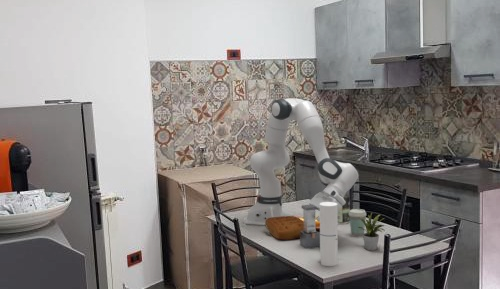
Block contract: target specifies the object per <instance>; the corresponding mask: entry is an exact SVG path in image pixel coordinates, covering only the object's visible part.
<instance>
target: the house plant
mask: <svg viewBox="0 0 500 289" xmlns="http://www.w3.org/2000/svg"><path fill="white" fill-rule="evenodd" d="M372 215H373V212H371V213H370V215H369V214H368V215H367V216H368V219H367V218H366V219H365V220H364V219H362V218H361V217H360V218H361V219H362V220H361V221H362V222H363V223H364V225H365V228H363V227H358V228H362V229H363V230H364V234H363V236H362V237H363V244H364V249H365V250H368V251H376V250H378V245H379V238H380V234H378V233H377V232H381V233H383V232H382V231H384V232H386V231H385V229H384V228H382V227H385V225H384V224H380V222H381V221H382V219H380V220H379V217H380V216H381V214H378V215H376V216H375V217H374V218H373V219H372ZM364 217H365V216H364ZM357 218H358V217H357ZM360 218H359V219H360ZM385 219H386V218H383V220H385ZM378 220H379V221H378ZM378 223H379V224H378Z"/></svg>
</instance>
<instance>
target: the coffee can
mask: <svg viewBox="0 0 500 289" xmlns="http://www.w3.org/2000/svg"><path fill="white" fill-rule="evenodd" d="M350 197H351V195H349V194H347V193H346V194H345V196H344V197H343V198H344V200H345V201H346V203H345V204H344V205H342V207H341V209H340V210H339V211H338V212H337V218H338V225H345V224H346V225H347V224H350V218H349V211H350V210H351V203H350V202H351V198H350Z"/></svg>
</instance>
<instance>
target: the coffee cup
mask: <svg viewBox="0 0 500 289" xmlns="http://www.w3.org/2000/svg"><path fill="white" fill-rule="evenodd" d="M364 216H365V217H364ZM366 216H367V212H366V210H365V209H361V208H353V209H350V211H349V218H350V222H349V227H350V234H351V236H353V237H360V238H361V237H363V234H364V233H365V230H363V229H362V228H358V227H363V228H364V229H366V227H365V225H364V223H363V222H362V221H361V220H362V219H364V220H365V221H366V219H367V217H366ZM357 217H358V218H357ZM360 217H361V218H362V219H361V218H360ZM359 218H360V219H359Z"/></svg>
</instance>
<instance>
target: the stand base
mask: <svg viewBox="0 0 500 289" xmlns="http://www.w3.org/2000/svg"><path fill="white" fill-rule="evenodd" d="M299 244H300V246H302V247H303V248H304V249H307V250H308V249H314V248H320V232H318V231H317V230H316V233H311V234H305V233H304V230H303V231H300V237H299Z"/></svg>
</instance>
